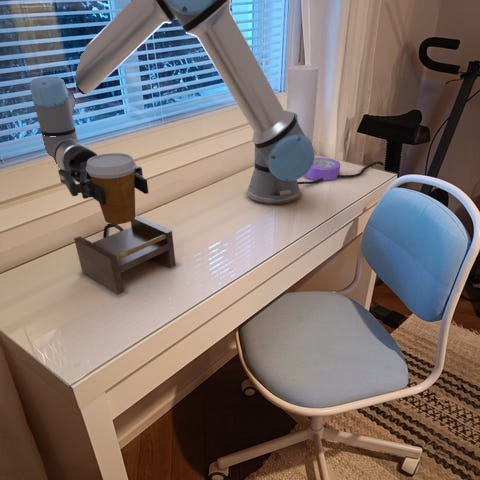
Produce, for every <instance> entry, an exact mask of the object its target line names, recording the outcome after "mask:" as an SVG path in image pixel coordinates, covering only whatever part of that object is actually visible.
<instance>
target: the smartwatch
mask: <svg viewBox="0 0 480 480" xmlns="http://www.w3.org/2000/svg"><path fill="white" fill-rule="evenodd" d="M110 228H114V229H117V230H118V231H119V232H120V231H123V230H124V228H123V227H122V226H120V224H111V223H107V224H106V225H105V226H104V228H103V233H102V239H103V238H106V237H108V236H110Z"/></svg>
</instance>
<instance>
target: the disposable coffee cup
mask: <svg viewBox="0 0 480 480" xmlns="http://www.w3.org/2000/svg"><path fill="white" fill-rule="evenodd" d="M136 166H137V163H136V162H135V161H134V158H133V156H132V155H130V154H128V153H127V154H126V153H121V152H110V153H102V154H97V156H94V157H91V158H90V159H88V161H87V167H86V171H87V172H88V174H89V175H90V177H91V180H92V182H93V183H94V184H96V185H97V186H98V187H100V188H101V189H103V190H104V192H105V198H106V203H107V204H105V205H102V204H101V203H99V202H98V203H99V207H100V209H101V212H102V215H103V219H104V221H105V222H106V223H107V224H117V225H123V224H127V223H131V221H132V220H134V219H135V215H136V188H135V177H134V171H135V167H136Z"/></svg>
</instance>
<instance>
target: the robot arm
mask: <svg viewBox="0 0 480 480" xmlns="http://www.w3.org/2000/svg"><path fill="white" fill-rule="evenodd" d="M231 1H232V0H130V1H129V2H128V4H126V5H125V6H124V7H123V8H122V10H120V11H119V12H118V14H117V15H115V17H113V18H112V19H111V21H109V22H108V24H107V25H105V26H104V27H103V28H102V29H101V31H100V32H98V34H96V36H94V38H93V39H92V40H91V41H90V42H89V43H87V45H85V47H86V49H85V51H84V52H83V53H82V54H81V56H80V62H79V64H78V66H77V70H76V76H75V77H76V86H77V88H78V90H79V91H80V92H81V93H82V94H87V93H90V92H91V91H92V92H94V90H95V89H96V88H97V87H98V86H100V85H101V83H103V82H104V81H105V80H106V79H107V78H108V77H109V76H110V75H111V74H112V73H114V71H116V70H117V68H118V67H120V65H122V64H123V63H124V61H126V60H127V59H128V58H129V57H130V56H131V55H132V54H133V53H134V52H135V51H136V50H138V48H139V47H141V46H142V45H143V44H144V43H145V42H146V41H147V40H148V39H149V38H150V37H151V36H152V35H153V34H155V32H156V31H157V30H158V29H160V27H162V26H163V25H164V24H172V23H173V22H174V21H175V20H176V19H177V21H178V22H179V24H180V26H181V27H182V29H183V31H184V33H185V34H186V35H190V36H194V37H196V38H197V40H198V41H199V43H200V45H201V46H202V48H203V49H204V51H205V53H206V55H207V56H208V58H209V60H210V62H211V64H212V65H213V66H214V68H215V70H216V71H217V73H218V75H219V77H220V78H221V79H222V81H223V83H224V85H225V86H226V88H227V90H228V91H229V92H230V95H231V96H232V97H233V99H234V101H235V103H236V104H237V106H238V107H239V109H240V111H241V113H242V114H243V117H244V118H245V119H246V121H247V123H248V125H249V126H250V128H251V129H252V130H253V134H252V137H251V138H252V139H251V141H252V143H253V144H254V169H253V172H252V175H251V178H250V182H249V185H248V188H247V195H248V197H249V198H250V199H251V200H252V201H254V202H257V203H259V204H260V203H261V204H265V205H283V204H288V203H291V202H294V201H296V200H297V199H298V198H299V196H300V186H299V185H312V184H317V183H320V182H324V181H323V179H322V178H321V179H319V180H310V181H298V180H299V179H301V178H302V177H305V176H304V175H305V174H306V173H307V172H308V171H309V169H310V168H311V166H312V163H313V160H314V158H315V149H314V145H313V142H312V143H311V141H310V140H309V139H308V138H307V137H306V136H305V135H304V133H303V131H302V129H301V127H300V126H299V124H298V116H297V114H296V113H293V112H289V111H287V110H285V109H284V108H283V106H282V105H281V104H282V103H281V102H280V101H279V99H278V97H277V95H276V93H275V91H274V89H273V88H272V85H271V84H270V82H269V80H268V79H267V77H266V75H265V73H264V70H263V69H262V67H261V66H260V64H259V62H258V60H257V58H256V57H255V54H254V53H253V51H252V48H251V47H250V45H249V43H248V42H247V40H246V38H245V36H244V34H243V32H242V31H241V29H240V27H239V25H238V23H237V21H236V20H235V18H234V16H233V14H232V13H231ZM29 88H30V93H31V100H32V102H33V105H34V109H35V113H36V116H37V121H38V125H39V128H40V132H41V136H42V139H43V141H44V145H45V149H46V151H47V153H48V154H49V155H50V156H52V157H53V158H54V160H55V162H56V164H58V167H59V168H60V169H59V168H58V170H57V171H58V176H59V178H60V183H61V184H63V185H65V187H66V188H67V189H68V190H67V191H68V192H69V193H70V195H71V197H77V196H79V194H81V197H82V199H84V200H87V199H89V198H92V199H94V200H95V201H96V202H98V203H101V204H102V205H105V204H107V203H106V198H105V192H104V190H103V189H101V188H100V187H98V186H97V185H96V184H94V183H93V182H92V180H91V177H90V175H89V174H88V172H87V171H86V167H87V161H88V159H90V158H91V157H94V156H97V155H98V153H96V152H95V151H94V150H92V149H90V148H89V147H87V146H86V145H83V144H82V143H80V142H79V140H78V136H77V132H76V127H75V122H74V117H73V112H74V110H75V109H74V107H75V97H74V95H73V93H72V92H71V90H70V89H68V88H67V87H66V85H65V82H64V80H63V79H61V78H59V77H56V76H42V77H41V76H40V77H36V78H33V79H31V80H30V82H29ZM92 92H91V93H92ZM91 93H90V94H91ZM44 135H45V136H44ZM50 136H56V137H50ZM374 165H381V166H384V165H385V164H384V162H382V161H380V160H379V161H378V160H377V161H373V162H372V163H370V164H368V165H365V166H363V168H362V169H361V170H360V172H358V173H355V174H339V175H337V177H338V178H355V177H360V176H361V175H363V173H364V172H365V171H366V170H367V169H369V168H371V167H373V166H374ZM143 173H144V172H143V168H142V167H141V166H139V165H136V167H135V171H134V177H135V190H138V191H139V192H141V193H143V194H145V195H148V194H149V193H150V192H149V186H148V179H146V178H145V177H144V174H143ZM76 182H77V183H76Z"/></svg>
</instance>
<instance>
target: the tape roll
mask: <svg viewBox="0 0 480 480" xmlns="http://www.w3.org/2000/svg"><path fill="white" fill-rule="evenodd" d="M340 171H341V163H340V162H339V161H338V160H336V159H333V158H329V157H314V160H313V163H312V166H311V168H310V169H309V171H308V172H307V173H306V174H305V175H304V176H303V177H305V178H307V179H310V180H312V181H316V180H319V179H321V178H322V179H323V181H322V182H326V181H327V182H328V181H329V182H330V181H334V180H336V179H338V178H339V177H337V175H340Z"/></svg>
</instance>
